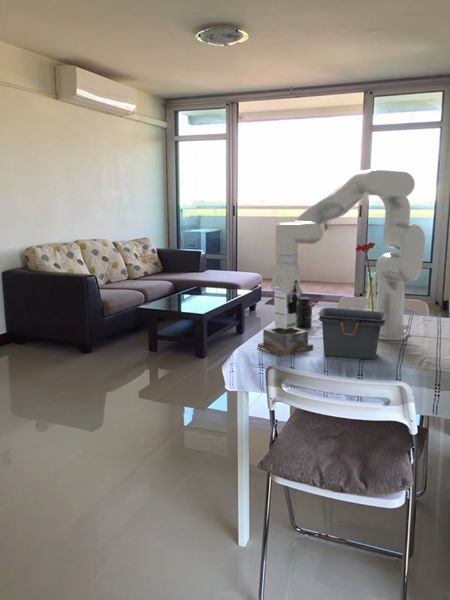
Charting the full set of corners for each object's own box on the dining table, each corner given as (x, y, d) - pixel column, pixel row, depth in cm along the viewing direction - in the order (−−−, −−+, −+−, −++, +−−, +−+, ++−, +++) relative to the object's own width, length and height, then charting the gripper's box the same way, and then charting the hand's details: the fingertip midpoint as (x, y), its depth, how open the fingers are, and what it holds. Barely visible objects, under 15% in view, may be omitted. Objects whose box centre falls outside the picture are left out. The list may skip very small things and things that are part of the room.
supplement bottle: (311, 329, 200) (312, 299, 198) (294, 328, 202) (294, 299, 199) (311, 324, 207) (312, 296, 205) (295, 324, 208) (295, 296, 206)
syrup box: (286, 329, 169) (286, 287, 166) (273, 326, 174) (274, 285, 171) (297, 326, 173) (298, 285, 170) (285, 323, 177) (285, 283, 174)
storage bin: (384, 351, 170) (386, 310, 167) (383, 365, 156) (385, 321, 153) (321, 346, 177) (322, 307, 174) (314, 359, 162) (315, 316, 160)
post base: (290, 341, 184) (290, 323, 182) (313, 348, 174) (313, 330, 172) (257, 347, 176) (257, 330, 174) (279, 356, 166) (279, 337, 165)
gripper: (262, 258, 174) (262, 308, 177) (294, 262, 159) (294, 317, 163) (279, 256, 178) (278, 305, 181) (312, 261, 163) (311, 314, 167)
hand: (286, 310), depth 172 cm, fingers closed on syrup box, 6 cm apart
